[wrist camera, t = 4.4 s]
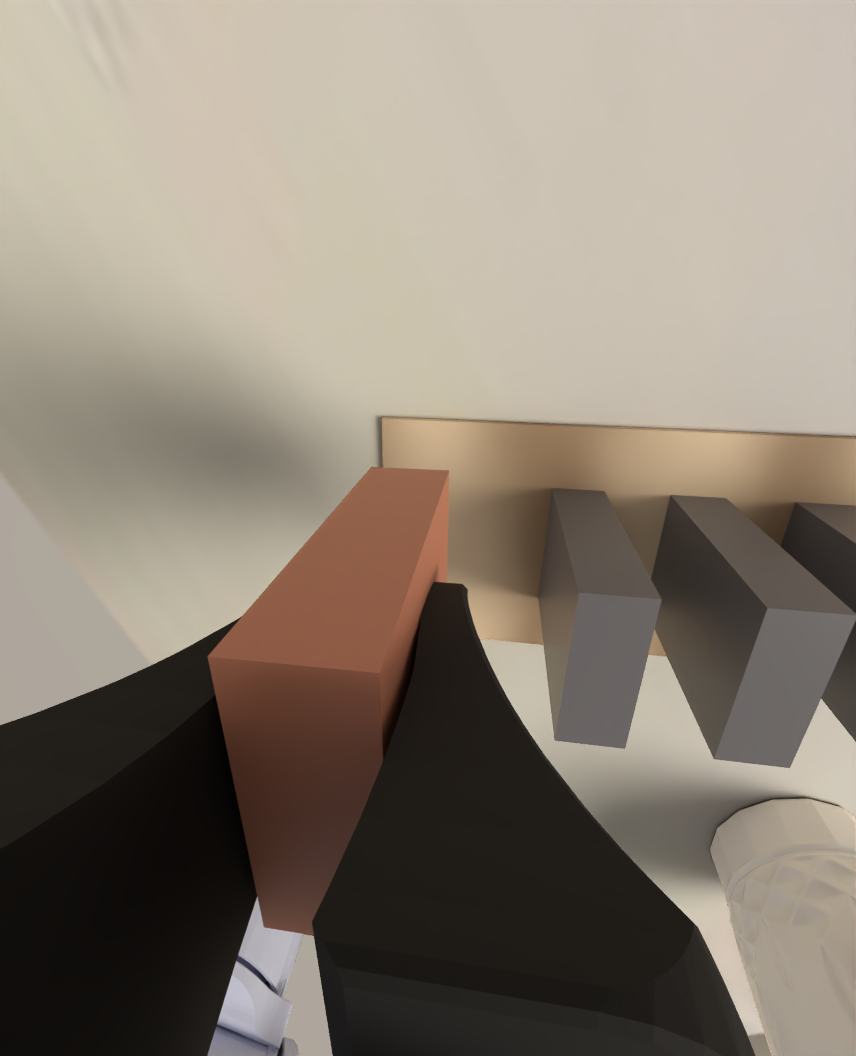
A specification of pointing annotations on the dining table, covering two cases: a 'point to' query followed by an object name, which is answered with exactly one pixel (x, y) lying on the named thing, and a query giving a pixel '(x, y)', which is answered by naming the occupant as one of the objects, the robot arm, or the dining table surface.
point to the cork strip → (603, 465)
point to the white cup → (795, 920)
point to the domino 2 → (744, 630)
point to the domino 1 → (593, 619)
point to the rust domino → (327, 682)
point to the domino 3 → (830, 585)
